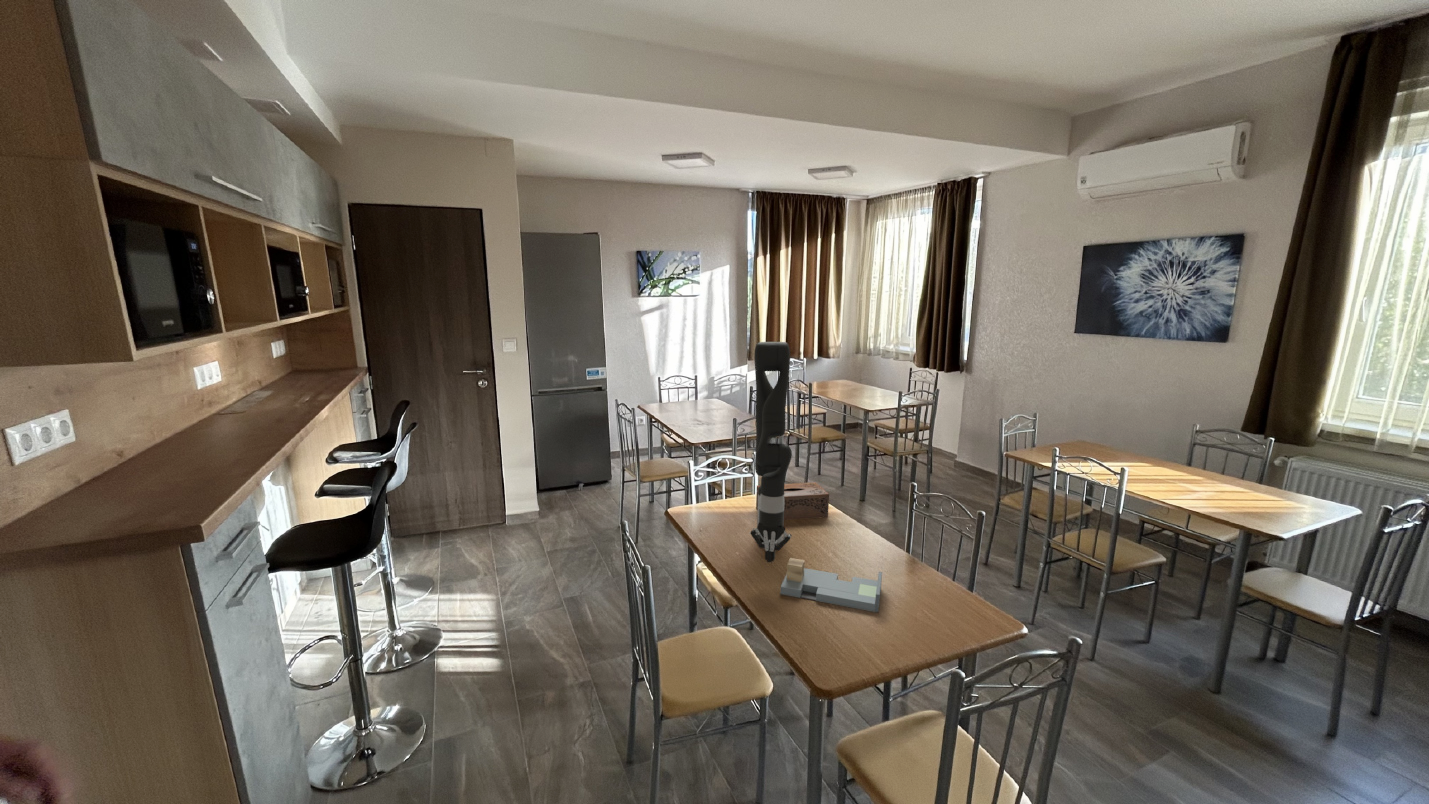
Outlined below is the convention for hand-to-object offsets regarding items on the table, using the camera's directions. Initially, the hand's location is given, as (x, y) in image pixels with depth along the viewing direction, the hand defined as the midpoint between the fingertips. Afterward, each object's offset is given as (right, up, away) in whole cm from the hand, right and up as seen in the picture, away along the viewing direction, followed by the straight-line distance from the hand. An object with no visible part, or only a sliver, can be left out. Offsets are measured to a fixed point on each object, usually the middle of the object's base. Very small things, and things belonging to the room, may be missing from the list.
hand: (769, 561), depth 174 cm
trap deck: (+18, -8, -5) cm, 20 cm away
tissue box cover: (+14, +4, +57) cm, 59 cm away
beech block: (+8, -5, -1) cm, 9 cm away
